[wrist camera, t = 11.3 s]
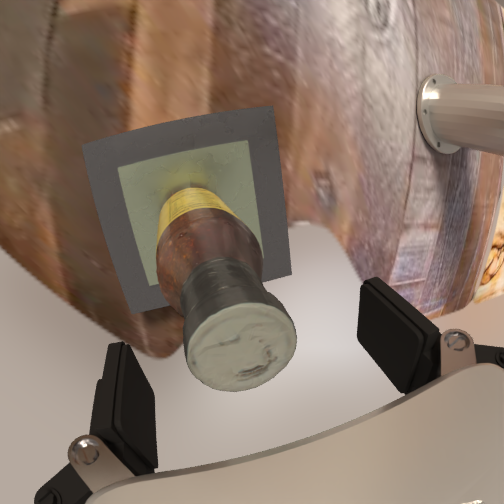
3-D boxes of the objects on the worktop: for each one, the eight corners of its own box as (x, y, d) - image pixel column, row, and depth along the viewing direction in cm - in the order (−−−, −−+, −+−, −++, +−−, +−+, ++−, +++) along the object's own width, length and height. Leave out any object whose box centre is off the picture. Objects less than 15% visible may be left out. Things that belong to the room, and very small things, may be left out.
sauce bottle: (216, 253, 30) (290, 417, 12) (153, 243, 28) (148, 418, 10) (233, 188, 28) (351, 293, 10) (166, 174, 26) (165, 270, 8)
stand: (260, 108, 30) (274, 105, 26) (279, 260, 37) (293, 276, 33) (91, 143, 26) (80, 145, 23) (134, 295, 34) (131, 316, 30)
